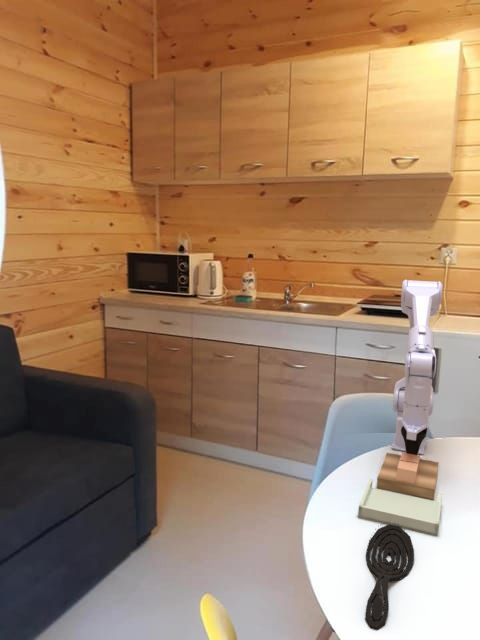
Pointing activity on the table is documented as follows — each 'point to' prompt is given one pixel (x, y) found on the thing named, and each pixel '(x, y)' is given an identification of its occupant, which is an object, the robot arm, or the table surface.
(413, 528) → the tray
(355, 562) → the table surface
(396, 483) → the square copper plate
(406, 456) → the tile rear
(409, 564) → the hairbrush
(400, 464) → the tile front
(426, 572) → the table surface
